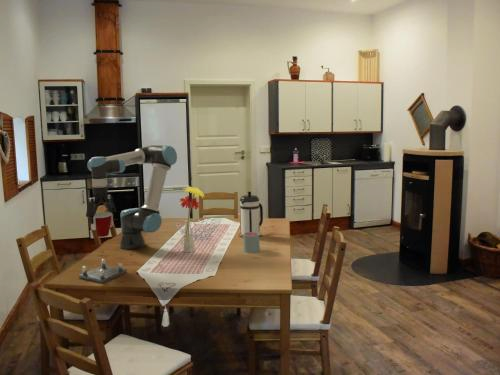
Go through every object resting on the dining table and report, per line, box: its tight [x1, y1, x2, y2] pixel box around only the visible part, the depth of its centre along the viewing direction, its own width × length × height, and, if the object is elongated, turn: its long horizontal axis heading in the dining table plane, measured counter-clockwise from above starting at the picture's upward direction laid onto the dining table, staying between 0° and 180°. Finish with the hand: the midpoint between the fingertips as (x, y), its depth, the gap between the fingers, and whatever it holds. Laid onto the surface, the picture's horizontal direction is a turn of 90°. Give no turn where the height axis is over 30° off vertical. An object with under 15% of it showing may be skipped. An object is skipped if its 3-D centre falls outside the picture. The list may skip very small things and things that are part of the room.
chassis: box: [78, 258, 128, 284], centre depth 211 cm, size 16×16×6 cm
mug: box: [242, 232, 261, 254], centre depth 248 cm, size 14×9×10 cm
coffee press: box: [238, 191, 264, 238], centre depth 277 cm, size 17×16×30 cm
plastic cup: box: [94, 211, 112, 238], centre depth 224 cm, size 11×11×12 cm
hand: (102, 227), depth 224 cm, fingers closed on plastic cup, 11 cm apart
